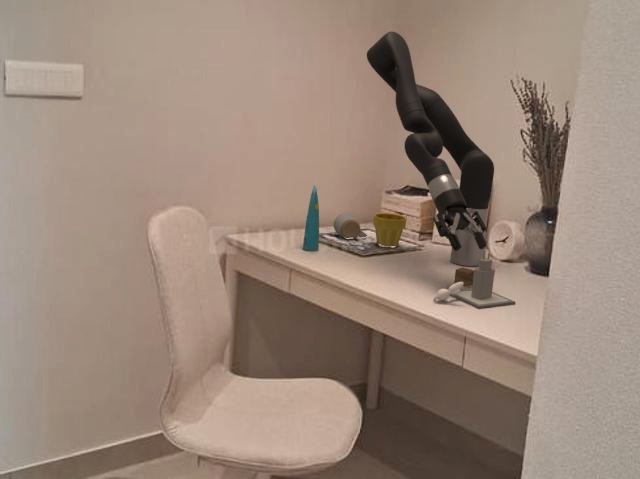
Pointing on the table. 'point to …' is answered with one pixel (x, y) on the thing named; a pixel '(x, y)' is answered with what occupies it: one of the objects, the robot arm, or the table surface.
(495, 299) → the pad
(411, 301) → the table surface
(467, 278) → the walnut block
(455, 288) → the rabbit figurine
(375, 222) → the plant pot
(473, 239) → the robot arm
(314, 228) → the tube
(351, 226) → the ceramic mug
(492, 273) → the power adapter
